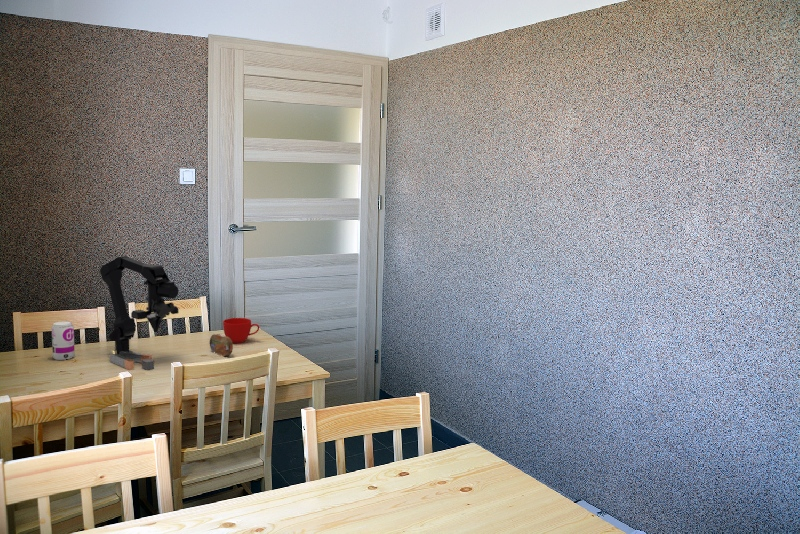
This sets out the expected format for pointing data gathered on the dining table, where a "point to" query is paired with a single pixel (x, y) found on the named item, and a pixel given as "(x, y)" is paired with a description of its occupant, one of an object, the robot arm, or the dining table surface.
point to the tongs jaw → (135, 356)
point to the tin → (221, 344)
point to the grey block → (147, 364)
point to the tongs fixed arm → (121, 360)
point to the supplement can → (63, 340)
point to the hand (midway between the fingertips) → (155, 332)
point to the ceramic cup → (238, 329)
